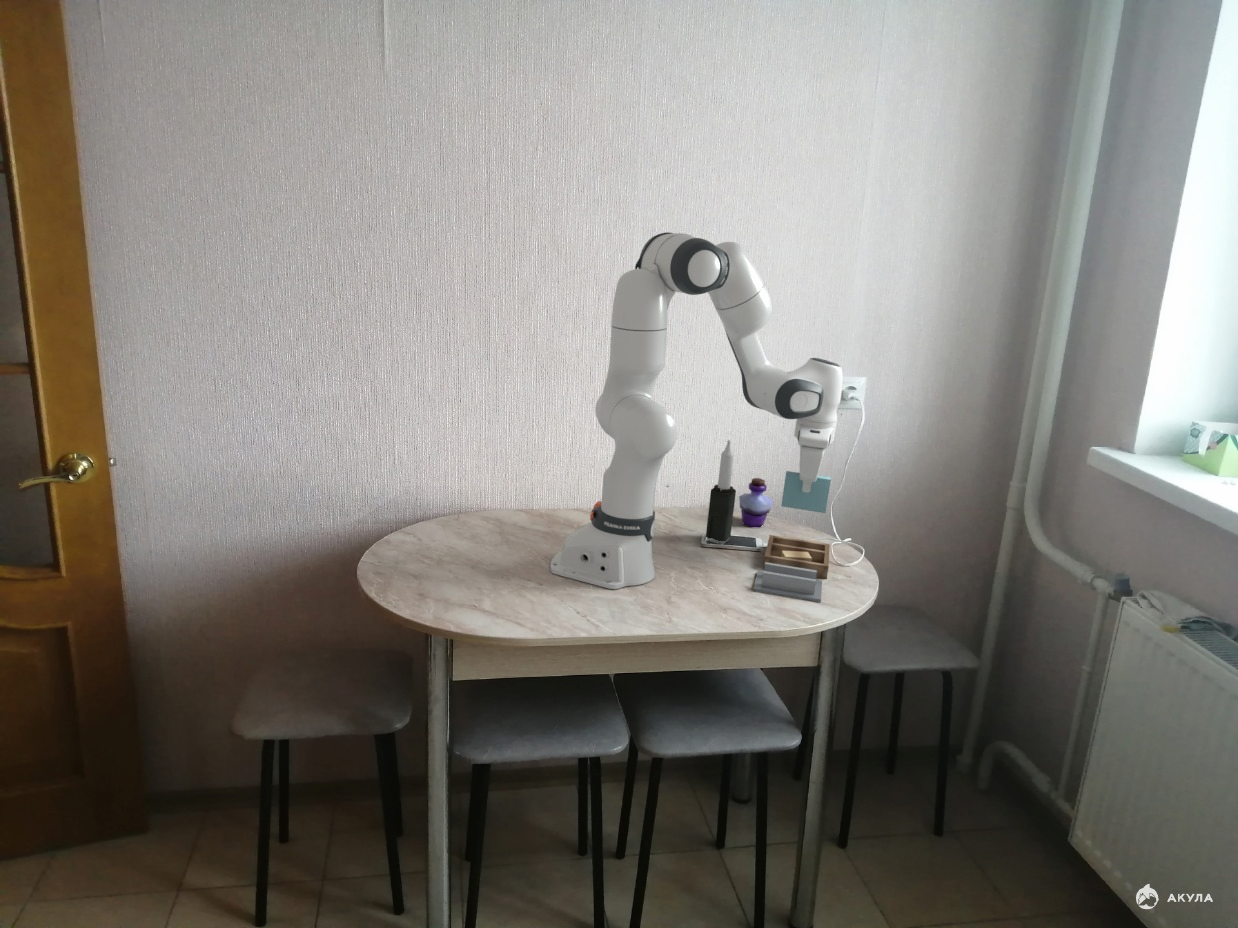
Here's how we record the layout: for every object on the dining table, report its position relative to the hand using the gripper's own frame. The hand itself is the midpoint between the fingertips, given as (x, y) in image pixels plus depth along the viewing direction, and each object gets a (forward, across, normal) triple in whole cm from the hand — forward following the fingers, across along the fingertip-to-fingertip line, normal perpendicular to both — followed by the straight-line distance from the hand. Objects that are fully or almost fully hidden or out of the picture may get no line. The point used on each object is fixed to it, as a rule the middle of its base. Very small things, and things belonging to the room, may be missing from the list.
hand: (806, 489), depth 202 cm
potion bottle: (+17, -17, -12) cm, 27 cm away
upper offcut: (+15, +7, 0) cm, 17 cm away
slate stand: (+17, +19, -1) cm, 25 cm away
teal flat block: (+5, 0, 0) cm, 5 cm away
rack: (+17, +4, 0) cm, 17 cm away
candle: (+17, -2, -19) cm, 25 cm away
